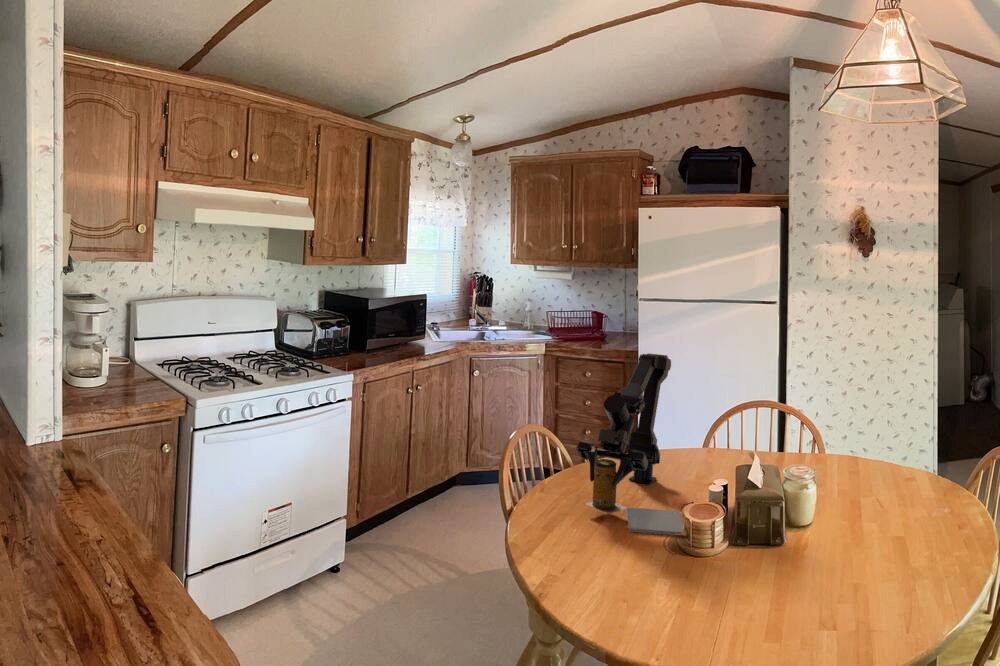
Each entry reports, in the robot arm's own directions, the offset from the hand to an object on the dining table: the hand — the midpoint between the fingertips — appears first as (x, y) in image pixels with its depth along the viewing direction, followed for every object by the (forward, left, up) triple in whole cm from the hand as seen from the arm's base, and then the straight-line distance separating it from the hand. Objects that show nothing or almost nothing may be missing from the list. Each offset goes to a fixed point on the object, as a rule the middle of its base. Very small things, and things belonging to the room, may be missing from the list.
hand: (602, 483), depth 178 cm
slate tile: (-5, +13, -9) cm, 17 cm away
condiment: (-2, +1, -7) cm, 7 cm away
